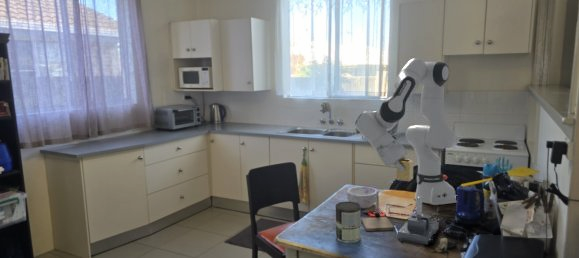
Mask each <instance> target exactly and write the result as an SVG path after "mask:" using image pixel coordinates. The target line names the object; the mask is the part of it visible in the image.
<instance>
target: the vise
mask: <svg viewBox="0 0 579 258" xmlns="http://www.w3.org/2000/svg"><path fill="white" fill-rule="evenodd" d="M415 202H416V205H415V207H416V209H415V211H416V213H412V214H411V217H408V218H407V220H406V222H405V223H404V224H403V225H402V227H401V228H400V229H399V230H398V231H397V240H403V241H407V242H413V243H415V244H422V245H425V246H426V245H427V246H428V244H429V243H428V241H429V239H430V238H431V236H432V235H433V234H436V233H437V232H438V231H439V226H440V225H439V224H440V223H439V221H432V220H431V218H432V216H431V215H427V214H423V212H422V211H423V210H422V209H423V202H422V197H420V196H418V197H416V200H415Z"/></svg>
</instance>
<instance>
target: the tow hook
mask: <svg viewBox="0 0 579 258" xmlns="http://www.w3.org/2000/svg"><path fill="white" fill-rule="evenodd" d="M379 200H380V195H379V191H378V190H377V196H376V202H375V210H370V211H368V212H367V215H368V216H369V218H376V217H386V216H387V213H386V212H385V211H383V210H380V206H379V205H380V203H379ZM373 212H375V213H373ZM380 212H381V213H382V214H381V213H380ZM371 213H372V214H371ZM385 215H386V216H385Z"/></svg>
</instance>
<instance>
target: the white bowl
mask: <svg viewBox="0 0 579 258" xmlns="http://www.w3.org/2000/svg"><path fill="white" fill-rule="evenodd" d="M346 191H347V192H346V193H347V195H346V196H347V197H346V198H347V202H355V203H358V204H360V206H361V208H360V209H369V208H372V207H373V205H374V204H376V196H377V191H378V189H376V188H374V187H371V186H370V187H369V186H354V187H351V188H349V189H348V190H346Z"/></svg>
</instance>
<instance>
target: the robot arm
mask: <svg viewBox="0 0 579 258" xmlns="http://www.w3.org/2000/svg"><path fill="white" fill-rule="evenodd" d="M449 78H450V68H449V66H448V65H447V63H445V62H443V61H423V60H422V59H420V58H411V59H410V60H409V61H408V62H406V63H405V65H404V66H403V67H402V68H401V70H400V71H399V73H398V74H397V76H396V78H395V81H394V89H395V90H394V92H393V94H392V95H391V96H390V97H388V98H386V99H385V100H384V101H383V102H381V103H382V104H381V106H380V107H379V109H378V110H375V111H366V110H365V111H363V112H362V113H360V115H358V117H357V118H356V120H355V127H356V129H357V130H358V132H359V133H360V134H361V136H362V137H364V139H365V140H367V141H368V143H369V144H370V146H371V147H372V148H373V149H374V150H375V152H377V155H378V157H379V159H380V160H381V161H382V162H383V164H384V165H385V166H386V167H388V168H390V167H391V166H394V167H395V169H397V168H398V169H399V170H400V171H401V172H403V171H404V170H405V167H404V166H402V165H401V164H400V163H399V162H398V160H399V159H407V158H406V156H407V155H408V151H407V148H405V147H404V146H403V144H402V143H401V142H400V141H399V140H398V138H397V136H396V135H394V134H393V135H392V134H390V133H389V131H391V130H392V129H393V128H394V127H395V126H396V125H397V123H398V122H400V120H401V119H402V118H403V117H404V115H405V113H406V105H407V104H406V102H407V101H408V99H409V97H410V96H412V95H414V94H415V92H417V90H418V89H419V87H420V86H421V85H422V88H421V95H420V109H419V112H420V115H422V116H423V118H425V119H426V120H427V121H428V124H429V125H428V124H427V125H425V124H414V125H410V126H409V127H407V129H406V131H405V139H406V141H407V142H408V144H409V145H410V146H411V147H412V149H414V152H415V154H416V157H417V172H416V183H417V185H416V190H415V193H414V194H415V195H414V200H415V201H416V197H418V196H420V197H422V204H430V205H433V206H439V205H447V204H455V203H456V196H457V194H456V190H455V188H454V187H453V186H452V185H451V184H449V182H447V181H445V180H447V179H448V176H447V175H446V174H443V173H442V172H441V170H442V169H441V163H442V161H441V158H440V156H439V155H438V154H437V153H435V152H434V151H433V149H432V148H435V149H450V148H453V146H454V145H455V144H456V140H457V135H456V132H455V131H454V130H453V129H452V128H451V127H450V125H449V124H448V123H447V120H446V117H445V114H444V113H445V111H444V106H445V105H444V101H445V89H444V84H445V83H446V82H447V81H448V79H449ZM456 204H457V203H456Z"/></svg>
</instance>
